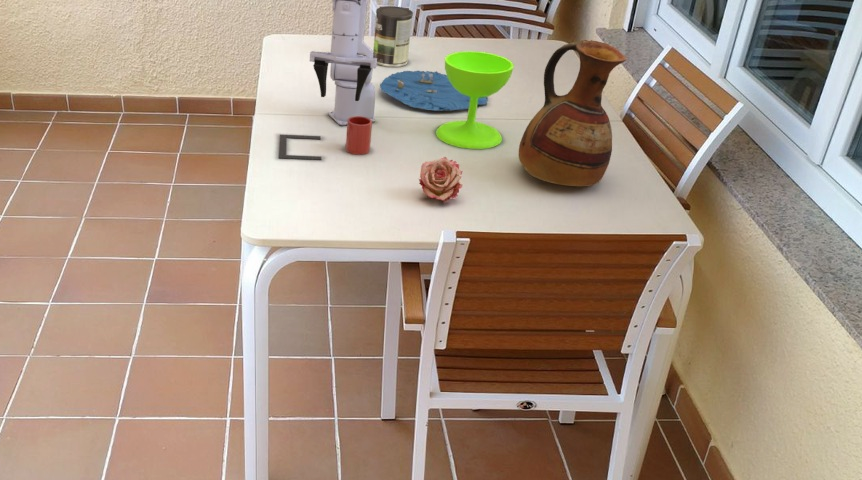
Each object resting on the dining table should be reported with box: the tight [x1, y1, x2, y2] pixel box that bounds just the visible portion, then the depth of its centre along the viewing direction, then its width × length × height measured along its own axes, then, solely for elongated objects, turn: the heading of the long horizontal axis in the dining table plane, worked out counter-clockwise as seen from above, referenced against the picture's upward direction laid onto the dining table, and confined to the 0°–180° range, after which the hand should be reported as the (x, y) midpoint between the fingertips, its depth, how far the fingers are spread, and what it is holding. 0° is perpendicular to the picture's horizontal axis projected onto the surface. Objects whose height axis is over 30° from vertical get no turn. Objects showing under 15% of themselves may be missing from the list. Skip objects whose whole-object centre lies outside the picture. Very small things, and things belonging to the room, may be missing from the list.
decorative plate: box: [379, 70, 488, 112], centre depth 256 cm, size 30×30×5 cm
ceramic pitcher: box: [518, 39, 627, 187], centre depth 209 cm, size 20×20×30 cm
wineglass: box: [435, 50, 515, 150], centre depth 229 cm, size 16×16×18 cm
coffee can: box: [372, 5, 414, 68], centre depth 274 cm, size 10×10×14 cm
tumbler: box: [345, 116, 373, 155], centre depth 222 cm, size 6×6×7 cm
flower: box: [418, 156, 463, 203], centre depth 203 cm, size 10×9×8 cm
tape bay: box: [278, 134, 322, 161], centre depth 223 cm, size 10×14×1 cm
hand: (340, 98), depth 214 cm, fingers open, 7 cm apart
